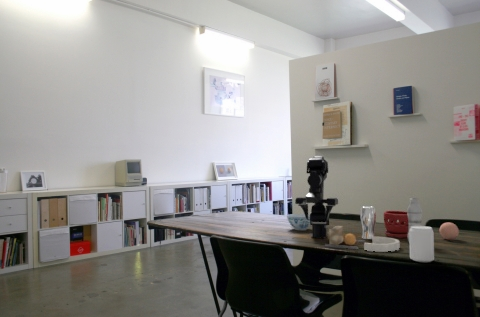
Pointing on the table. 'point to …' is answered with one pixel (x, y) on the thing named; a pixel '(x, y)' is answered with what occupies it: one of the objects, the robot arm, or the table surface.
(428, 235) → the beverage can
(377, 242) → the ring
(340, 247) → the launcher rails
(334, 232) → the launcher plunger
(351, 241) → the rubber ball
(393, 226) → the plant pot
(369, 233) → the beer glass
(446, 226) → the toy ball
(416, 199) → the plastic bottle
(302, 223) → the chinaware
